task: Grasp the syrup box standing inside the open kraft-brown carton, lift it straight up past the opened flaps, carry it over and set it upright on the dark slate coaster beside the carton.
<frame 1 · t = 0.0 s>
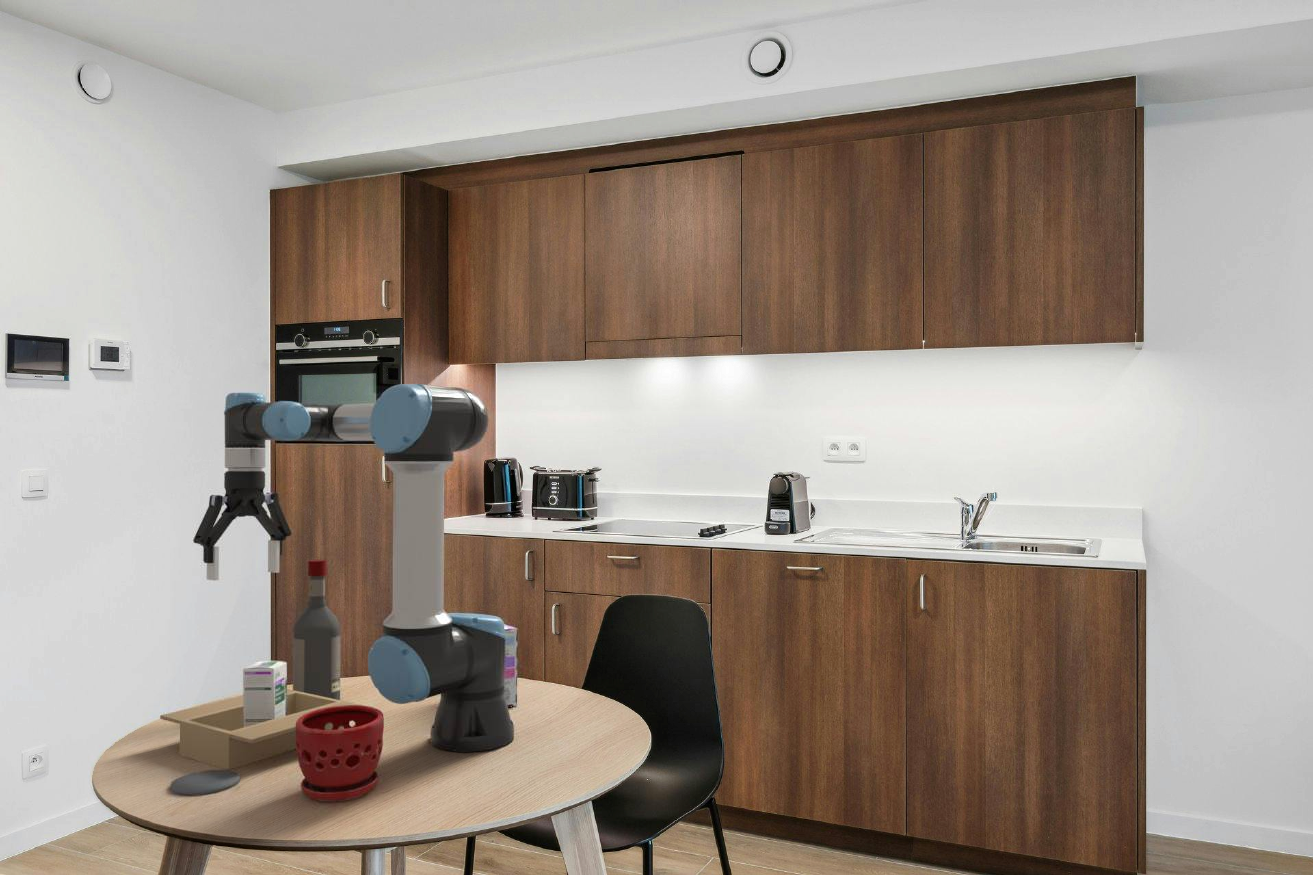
hand: (244, 576, 190), 28 cm above the table, fingers open, 13 cm apart
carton: (265, 743, 172), on the table
coaster: (205, 784, 151), on the table
liquor: (316, 704, 199), on the table
candy box: (491, 702, 201), on the table
plant pot: (339, 794, 148), on the table
syrup box: (265, 745, 172), resting in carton
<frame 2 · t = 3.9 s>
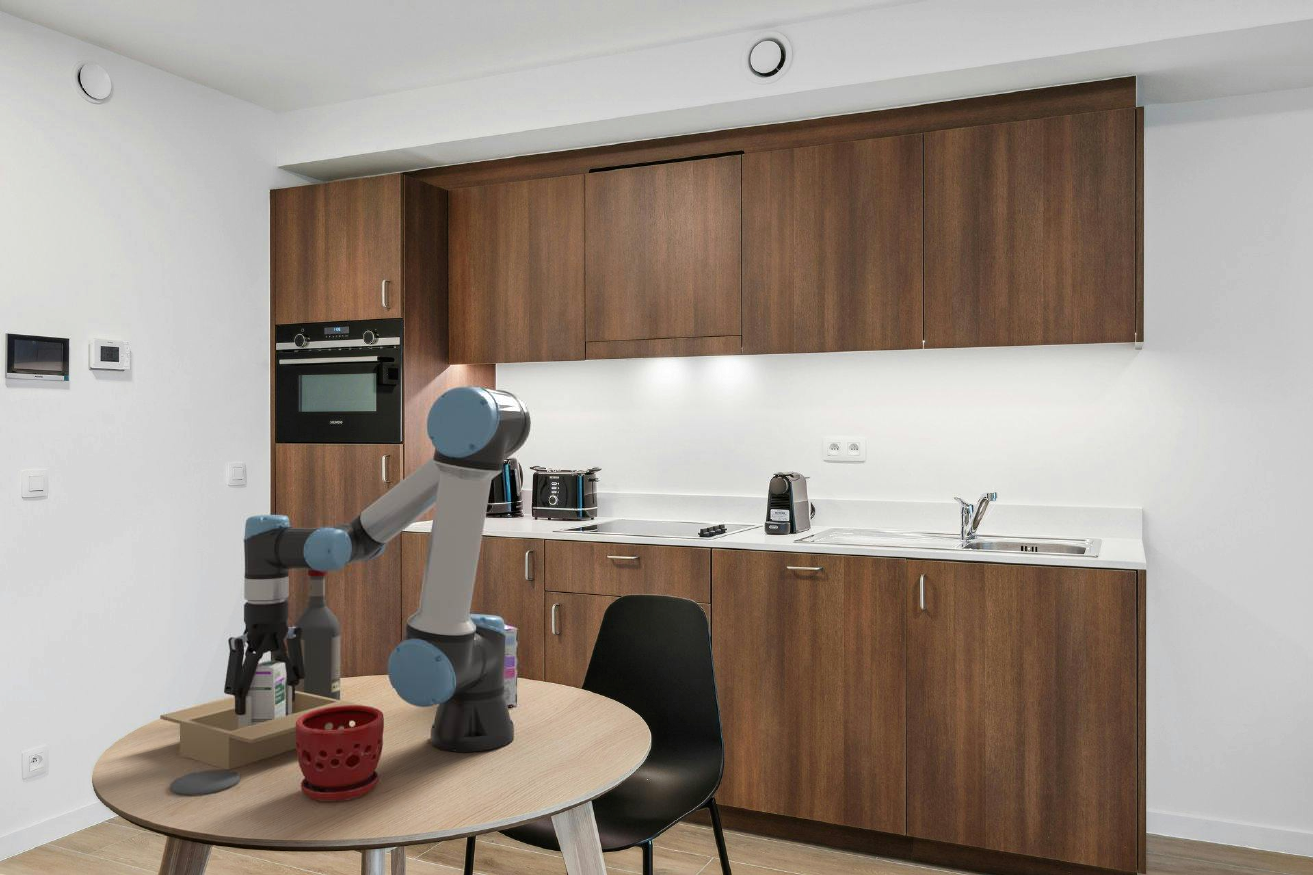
hand: (265, 726, 172), 3 cm above the table, fingers closed on syrup box, 8 cm apart
syrup box: (265, 745, 172), resting in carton, touching gripper
everything else where it was.
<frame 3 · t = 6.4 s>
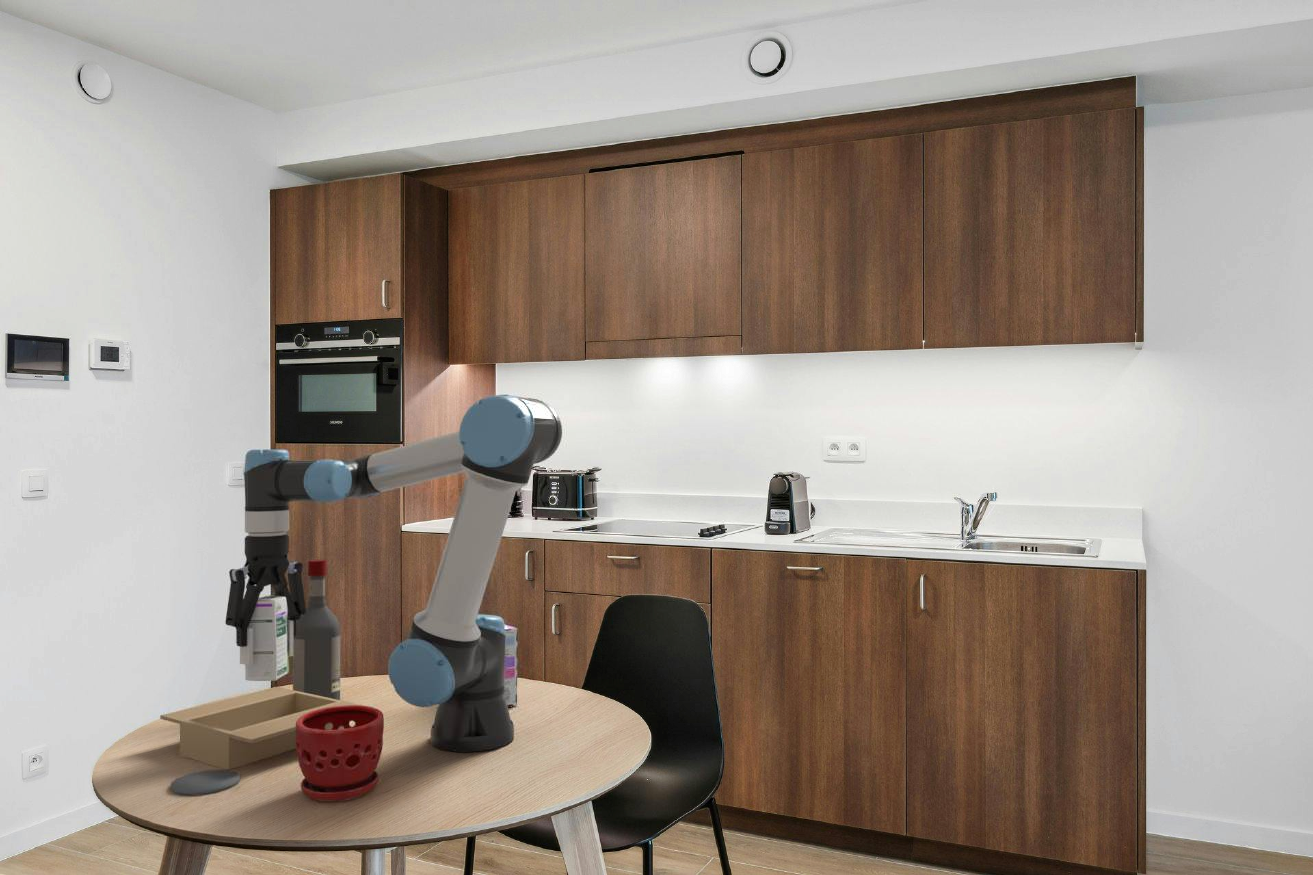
hand: (267, 659, 172), 15 cm above the table, fingers closed on syrup box, 8 cm apart
syrup box: (267, 678, 172), point 12 cm above the table, touching gripper
everything else where it was.
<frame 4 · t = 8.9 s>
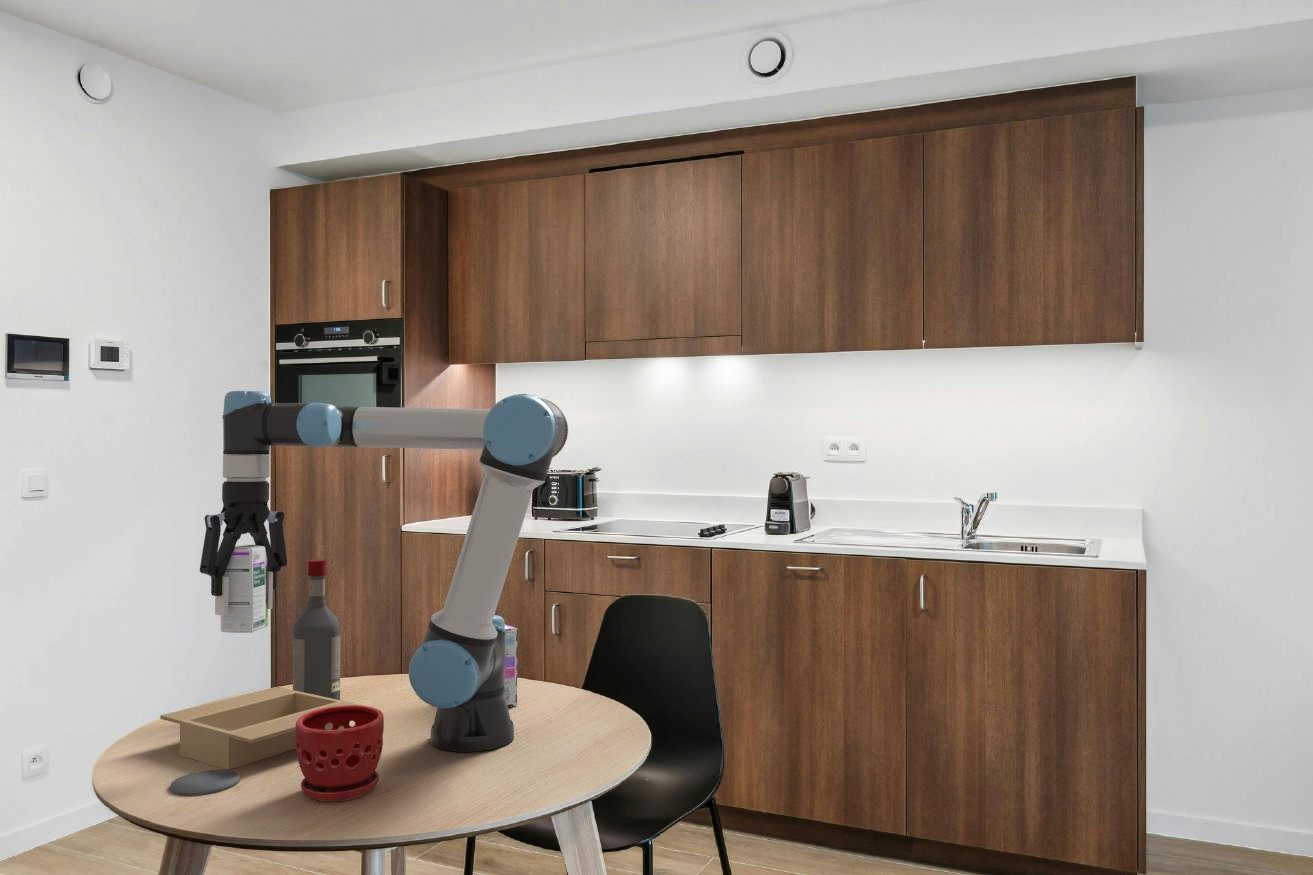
hand: (244, 611, 164), 25 cm above the table, fingers closed on syrup box, 8 cm apart
syrup box: (243, 630, 164), point 22 cm above the table, touching gripper
everything else where it was.
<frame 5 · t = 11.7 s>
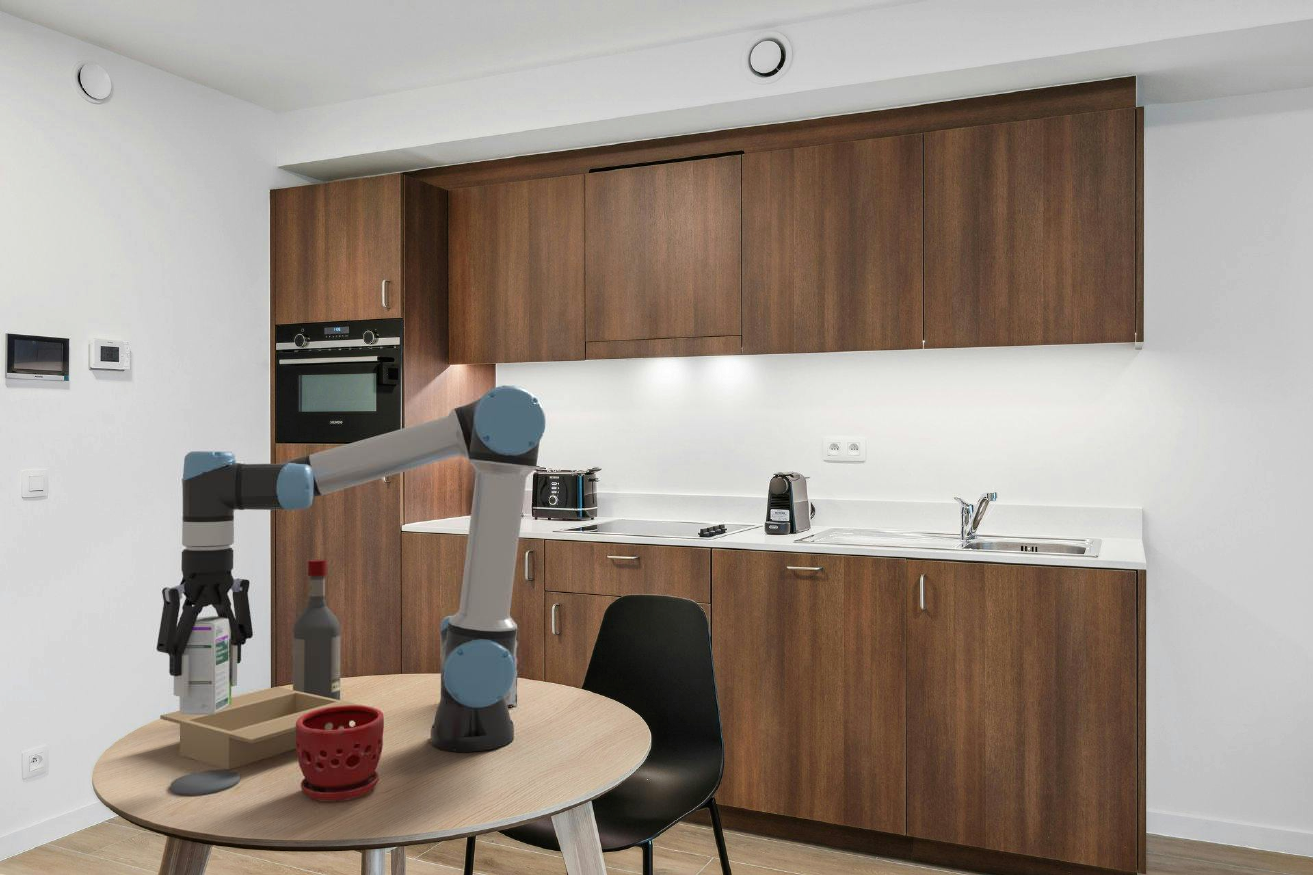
hand: (205, 690, 151), 15 cm above the table, fingers closed on syrup box, 8 cm apart
syrup box: (205, 711, 151), point 12 cm above the table, touching gripper
everything else where it was.
when the fingers open (5 cm above the table, at t = 14.0 s): syrup box stays where it is, resting on coaster.
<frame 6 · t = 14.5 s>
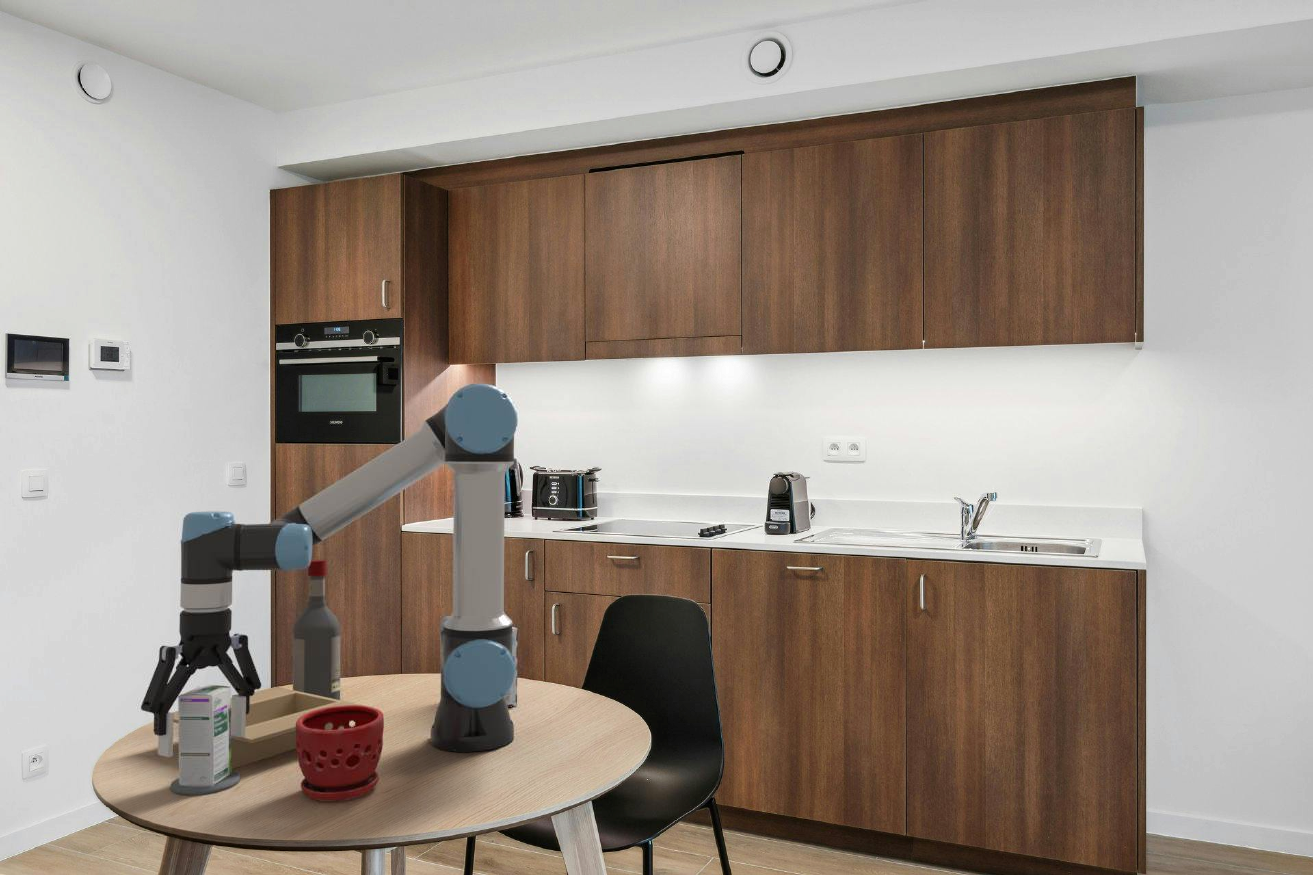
hand: (202, 745, 151), 6 cm above the table, fingers open, 12 cm apart
syrup box: (204, 781, 151), resting on coaster
everything else where it was.
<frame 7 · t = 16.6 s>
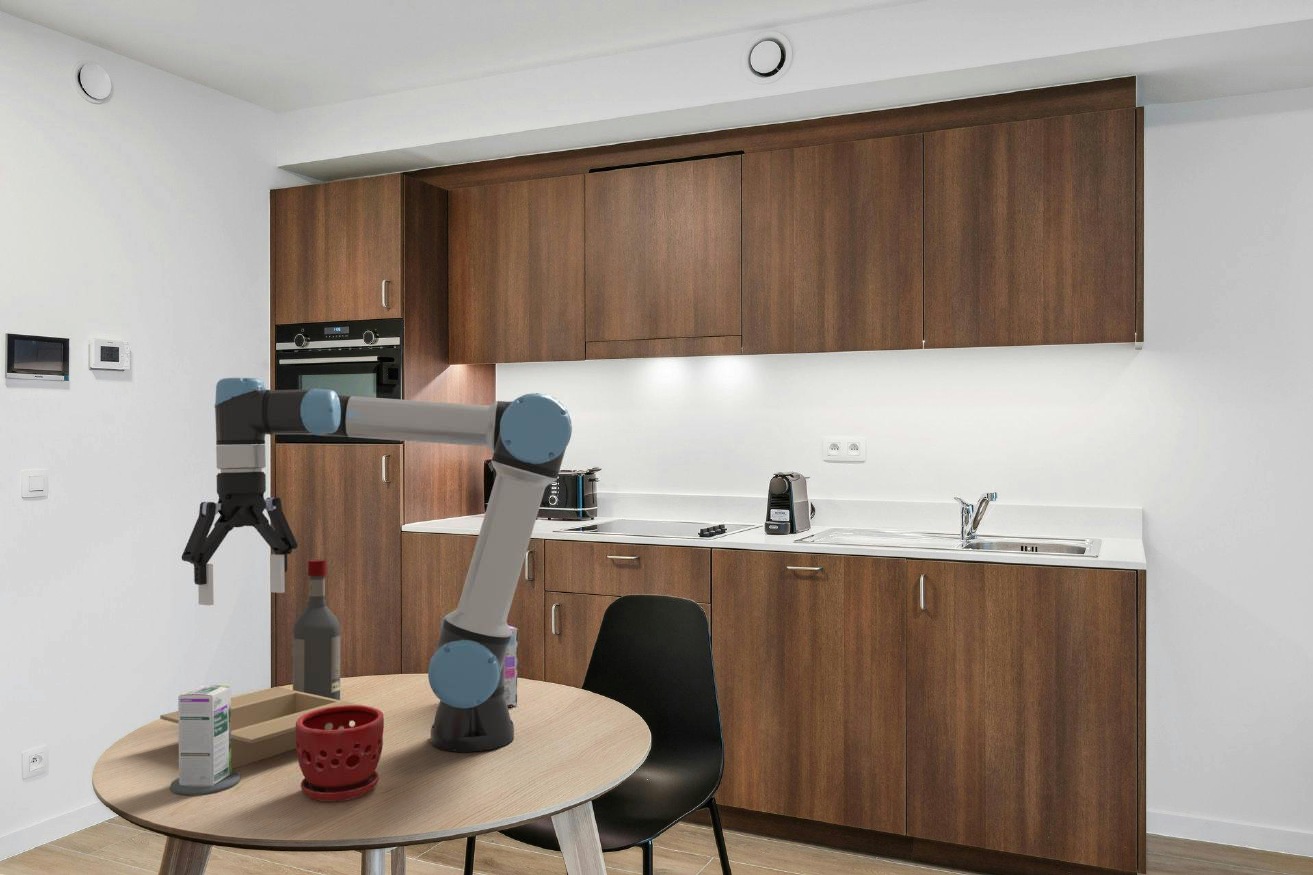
hand: (243, 598, 158), 29 cm above the table, fingers open, 13 cm apart
nothing on the table moved.
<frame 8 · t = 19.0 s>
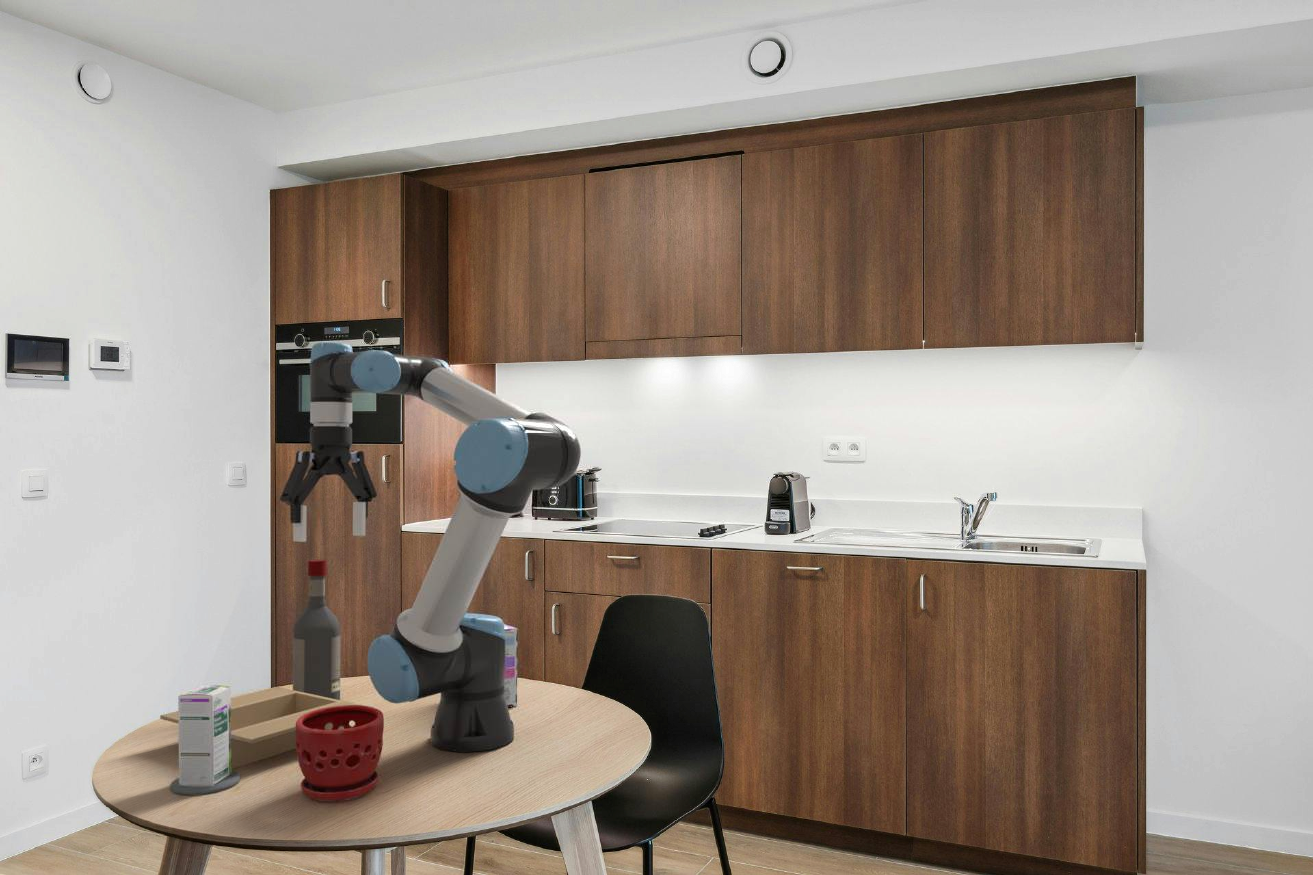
hand: (330, 538, 178), 37 cm above the table, fingers open, 13 cm apart
nothing on the table moved.
at the end: syrup box inside the target area on the coaster (0.2 cm from its centre), point 0.4 cm above the coaster's base; syrup box tilted 0°; the gripper is holding nothing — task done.
